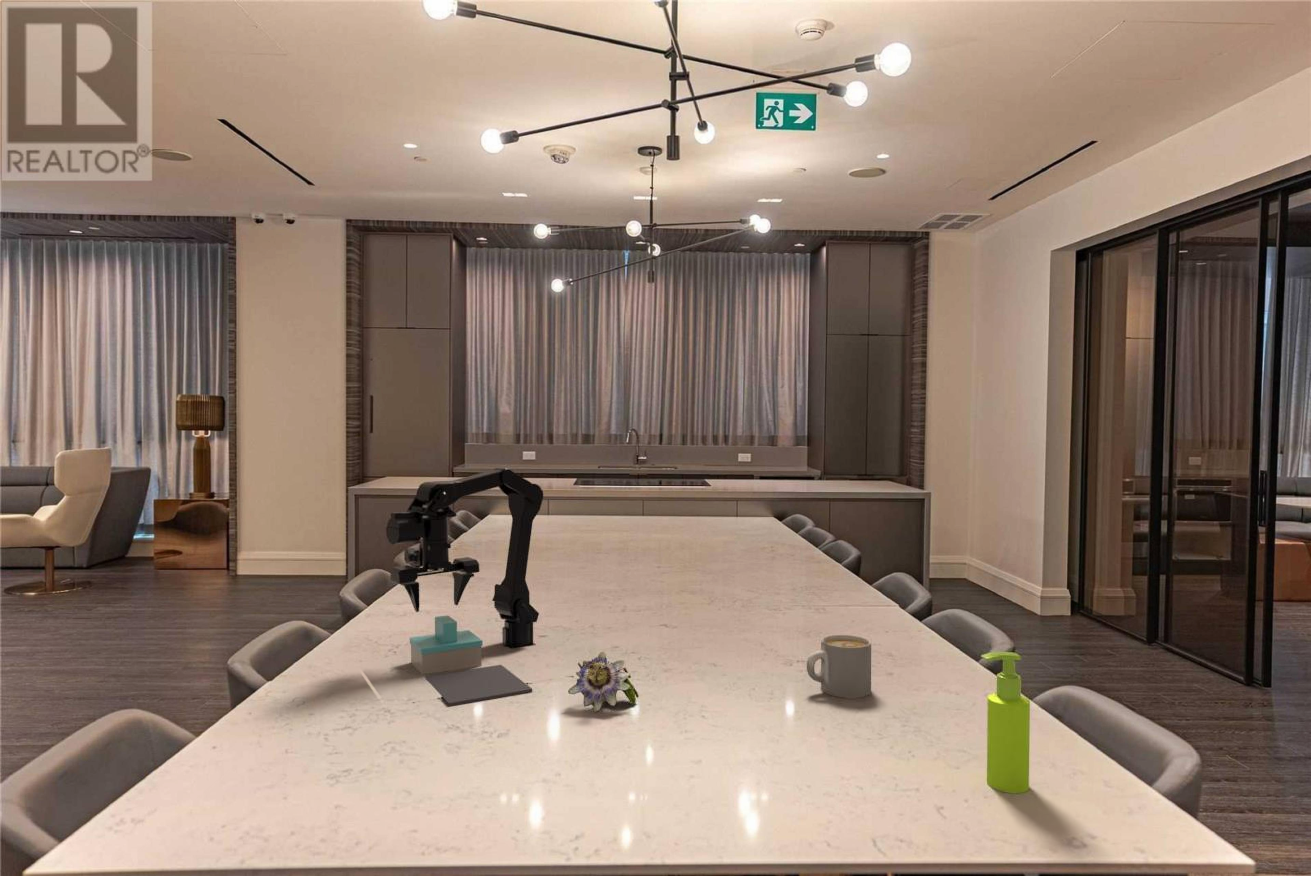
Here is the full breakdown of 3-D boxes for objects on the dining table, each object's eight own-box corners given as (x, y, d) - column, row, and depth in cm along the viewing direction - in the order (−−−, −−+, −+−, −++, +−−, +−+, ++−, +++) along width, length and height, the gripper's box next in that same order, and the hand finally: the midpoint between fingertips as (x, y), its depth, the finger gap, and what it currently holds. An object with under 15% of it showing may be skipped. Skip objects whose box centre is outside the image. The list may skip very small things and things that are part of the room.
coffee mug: (862, 681, 176) (862, 634, 176) (877, 697, 166) (878, 647, 166) (799, 682, 175) (799, 635, 175) (811, 698, 165) (811, 648, 165)
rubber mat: (501, 667, 186) (501, 664, 186) (532, 691, 170) (532, 688, 170) (424, 679, 178) (424, 676, 178) (448, 706, 161) (448, 703, 161)
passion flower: (598, 739, 159) (560, 692, 157) (599, 708, 170) (564, 664, 167) (647, 707, 158) (610, 659, 156) (645, 679, 168) (611, 633, 166)
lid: (468, 638, 194) (468, 611, 194) (482, 649, 185) (482, 620, 185) (409, 646, 188) (409, 618, 188) (421, 658, 179) (421, 628, 179)
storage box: (468, 656, 194) (467, 635, 194) (481, 668, 185) (481, 645, 185) (411, 665, 188) (410, 642, 188) (422, 677, 179) (422, 654, 179)
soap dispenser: (973, 777, 129) (974, 648, 129) (1016, 775, 130) (1017, 647, 129) (991, 794, 124) (993, 659, 123) (1036, 792, 124) (1038, 658, 124)
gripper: (458, 530, 199) (460, 595, 199) (380, 539, 187) (382, 608, 188) (479, 535, 190) (481, 604, 190) (399, 545, 178) (401, 618, 179)
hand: (436, 608), depth 187 cm, fingers open, 9 cm apart
